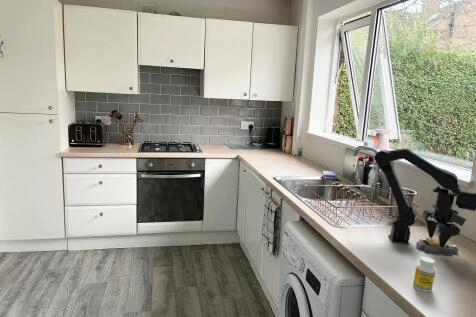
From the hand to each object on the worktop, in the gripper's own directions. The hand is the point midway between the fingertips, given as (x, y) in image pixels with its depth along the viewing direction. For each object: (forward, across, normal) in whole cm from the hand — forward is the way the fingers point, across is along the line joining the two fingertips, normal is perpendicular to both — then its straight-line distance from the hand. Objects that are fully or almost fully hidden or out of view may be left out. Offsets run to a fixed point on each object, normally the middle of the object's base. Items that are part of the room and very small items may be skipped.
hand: (436, 242), depth 143 cm
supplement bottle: (+3, -32, +18) cm, 37 cm away
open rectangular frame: (+3, 0, 0) cm, 3 cm away
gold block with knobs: (+3, 0, 0) cm, 3 cm away
